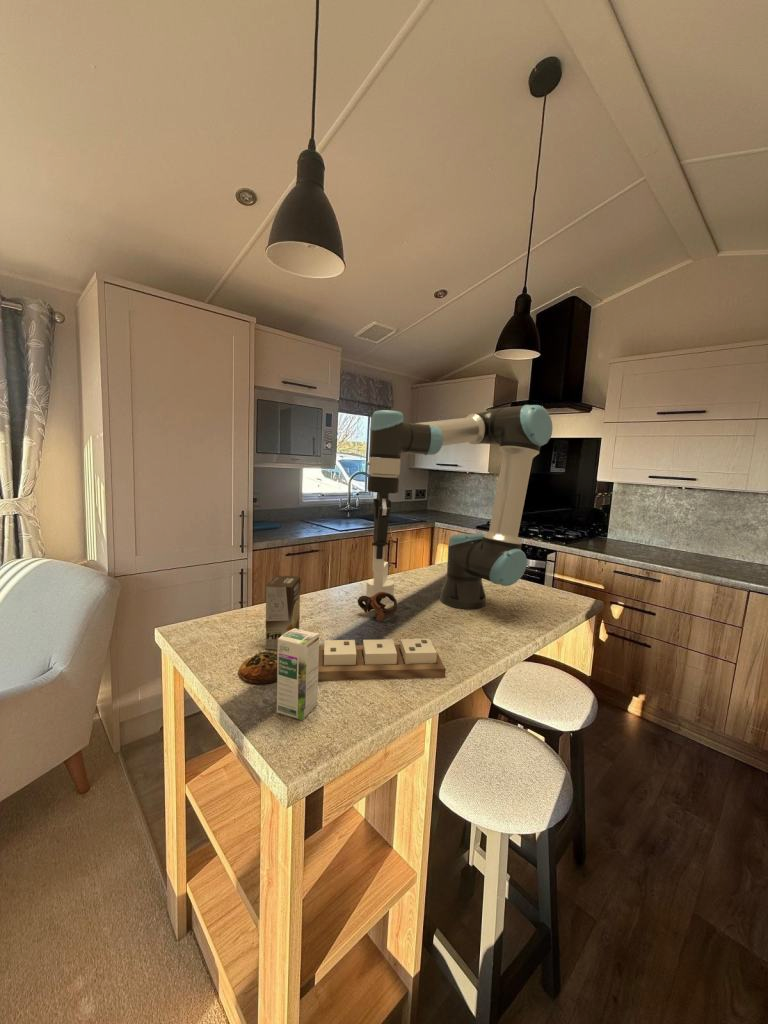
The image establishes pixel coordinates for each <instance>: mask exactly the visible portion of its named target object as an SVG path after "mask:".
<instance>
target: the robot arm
mask: <svg viewBox="0 0 768 1024" xmlns="http://www.w3.org/2000/svg"><path fill="white" fill-rule="evenodd" d="M552 421H553V420H552V417H551V416H550V413H549V411H548V410H547V409H546V408H545V407H543V406H542V405H539V404H524V405H517V406H508V407H507V406H506V407H498V408H495V409H494V408H493V409H489V410H486V411H482V412H478V413H470V414H468V415H467V416H466V417H461V418H460V417H459V418H452V419H442V420H434V421H425V422H408V421H407V422H406V421H404V414H403V412H401V411H398V410H392V409H391V410H387V409H382V410H376V411H374V412H373V414H372V416H371V423H370V437H369V438H370V439H369V440H370V441H369V442H370V443H369V460H367V461H366V466H369V467H368V474H369V475H370V476H368V477H367V491H368V492H370V493H376V498H374V499H373V502H372V503H373V516H374V517H373V518H374V519H373V521H374V522H373V537H372V539H373V542H372V543H371V546H373V549H372V551H373V552H372V569H371V571H372V572H374V571H379V572H384V562H385V558H386V557H385V555H386V546H387V544H388V541H387V540H388V529H389V521H390V512H391V508H392V507H391V506H392V500H390V498H389V497H390V496H389V495H390V494H397V493H398V492H399V483H400V479H399V478H398V476H400V473H401V462H402V461H401V460H402V459H401V456H402V454H404V455H405V454H406V455H407V454H408V455H424V456H429V455H430V456H434V455H436V454H438V453H439V452H440V451H441V449H442V447H444V446H449V445H451V446H452V445H457V444H458V445H459V444H465V443H468V444H470V445H480V444H481V445H497V446H498V445H499V450H500V451H501V453H502V454H503V456H502V461H501V467H500V471H499V475H498V482H497V487H496V492H495V498H494V501H493V508H492V514H491V519H490V524H489V528H488V529H489V530H488V531H487V532H486V533H484V534H482V533H458V534H457V533H456V534H451V536H450V537H449V540H448V546H447V564H446V571H447V572H446V579H445V581H444V583H443V585H442V588H441V590H440V596H439V597H440V599H439V600H440V602H441V603H443V604H445V605H446V606H449V607H452V608H457V609H464V610H474V609H479V608H483V607H485V606H486V604H487V603H486V601H487V596H486V592H485V591H486V590H485V589H484V588H485V587H484V584H483V580H486V581H489V582H491V583H493V584H494V585H498V586H499V585H500V586H504V587H509V586H512V585H514V584H516V583H517V582H518V581H519V580H521V578H522V577H523V575H524V574H525V571H526V568H527V565H528V564H527V563H528V559H527V555H526V553H525V552H524V551H523V550H522V545H523V542H522V541H521V540H520V538H519V533H520V527H521V522H522V516H523V513H524V511H523V510H524V506H525V500H526V495H527V490H528V485H529V479H530V474H531V468H532V463H533V460H534V458H535V457H536V456H537V455H539V454H540V450H541V447H542V446H544V445H546V444H548V443H549V441H550V439H551V437H552V434H553V422H552Z"/></svg>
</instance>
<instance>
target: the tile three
mask: <svg viewBox="0 0 768 1024" xmlns="http://www.w3.org/2000/svg"><path fill="white" fill-rule="evenodd" d="M400 644H401V648H400V649H401V652H402V655H403V656H402V659H403V662H404V665H405V664H433V663H436V657H437V653H438V651H437V649H436V647H435V646H433V645H434V644H433V643H432V641H431V639H430V638H406V639H405V638H403V639H402V638H401V639H400ZM434 647H435V648H434ZM435 649H436V650H435ZM436 651H437V652H436Z"/></svg>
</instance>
